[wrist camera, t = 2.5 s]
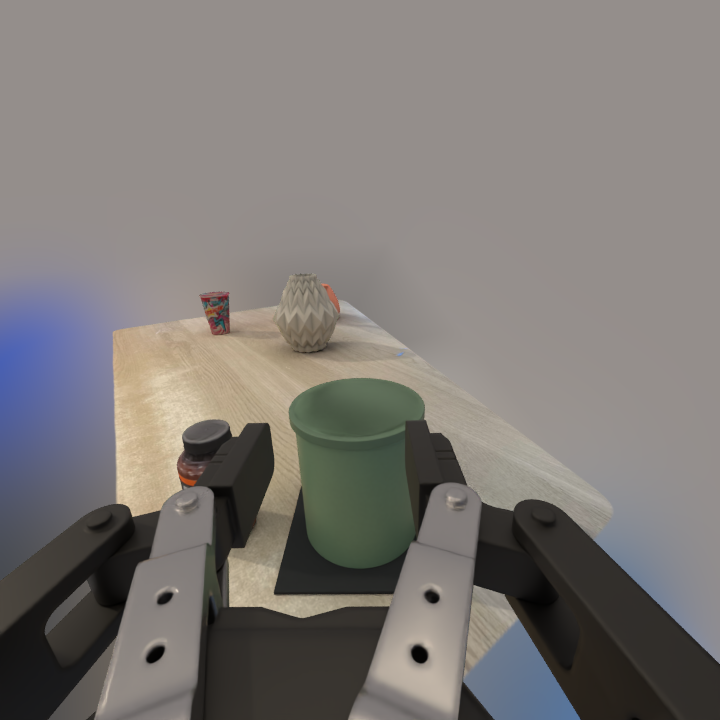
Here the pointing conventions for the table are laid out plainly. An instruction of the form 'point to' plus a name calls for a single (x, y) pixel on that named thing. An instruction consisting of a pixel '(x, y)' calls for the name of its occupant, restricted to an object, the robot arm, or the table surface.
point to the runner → (328, 568)
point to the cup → (217, 311)
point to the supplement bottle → (201, 449)
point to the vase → (306, 314)
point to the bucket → (356, 468)
